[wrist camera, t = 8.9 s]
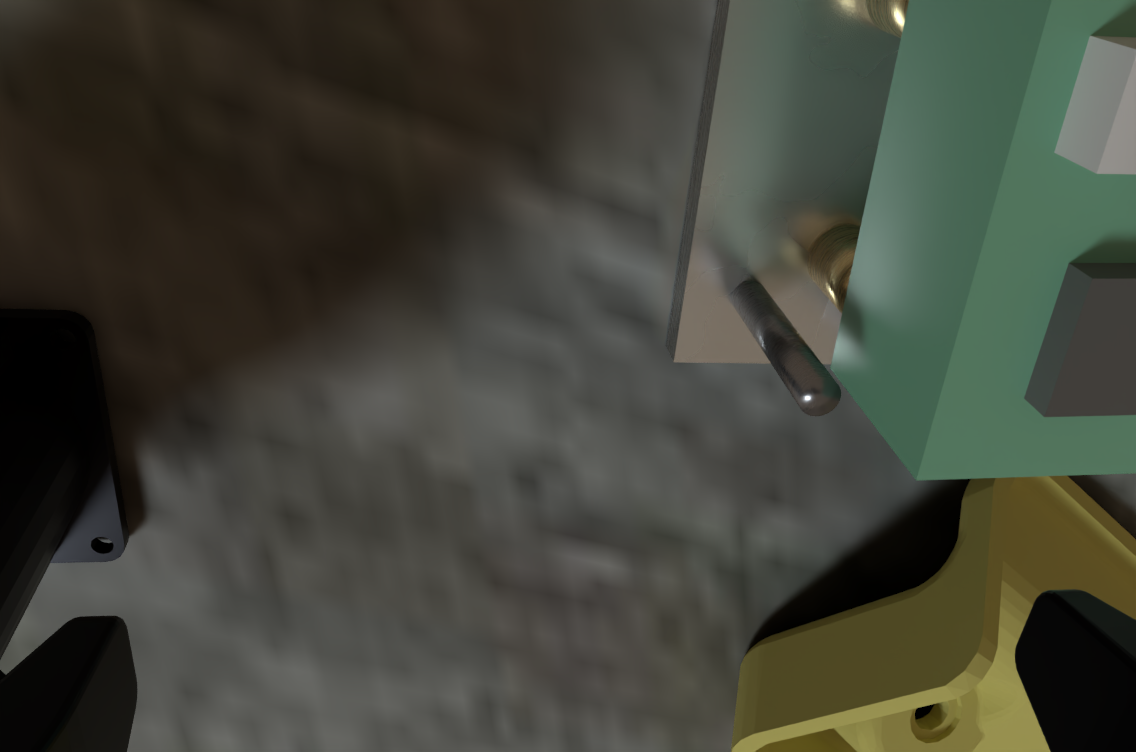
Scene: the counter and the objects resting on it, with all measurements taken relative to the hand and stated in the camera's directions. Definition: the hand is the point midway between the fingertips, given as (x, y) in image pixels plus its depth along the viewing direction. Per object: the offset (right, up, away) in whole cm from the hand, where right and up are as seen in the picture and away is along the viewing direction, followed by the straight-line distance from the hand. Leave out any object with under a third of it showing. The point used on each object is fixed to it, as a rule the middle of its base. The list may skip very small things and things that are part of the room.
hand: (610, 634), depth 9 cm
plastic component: (+13, -8, +22) cm, 27 cm away
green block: (+8, +6, +9) cm, 13 cm away
